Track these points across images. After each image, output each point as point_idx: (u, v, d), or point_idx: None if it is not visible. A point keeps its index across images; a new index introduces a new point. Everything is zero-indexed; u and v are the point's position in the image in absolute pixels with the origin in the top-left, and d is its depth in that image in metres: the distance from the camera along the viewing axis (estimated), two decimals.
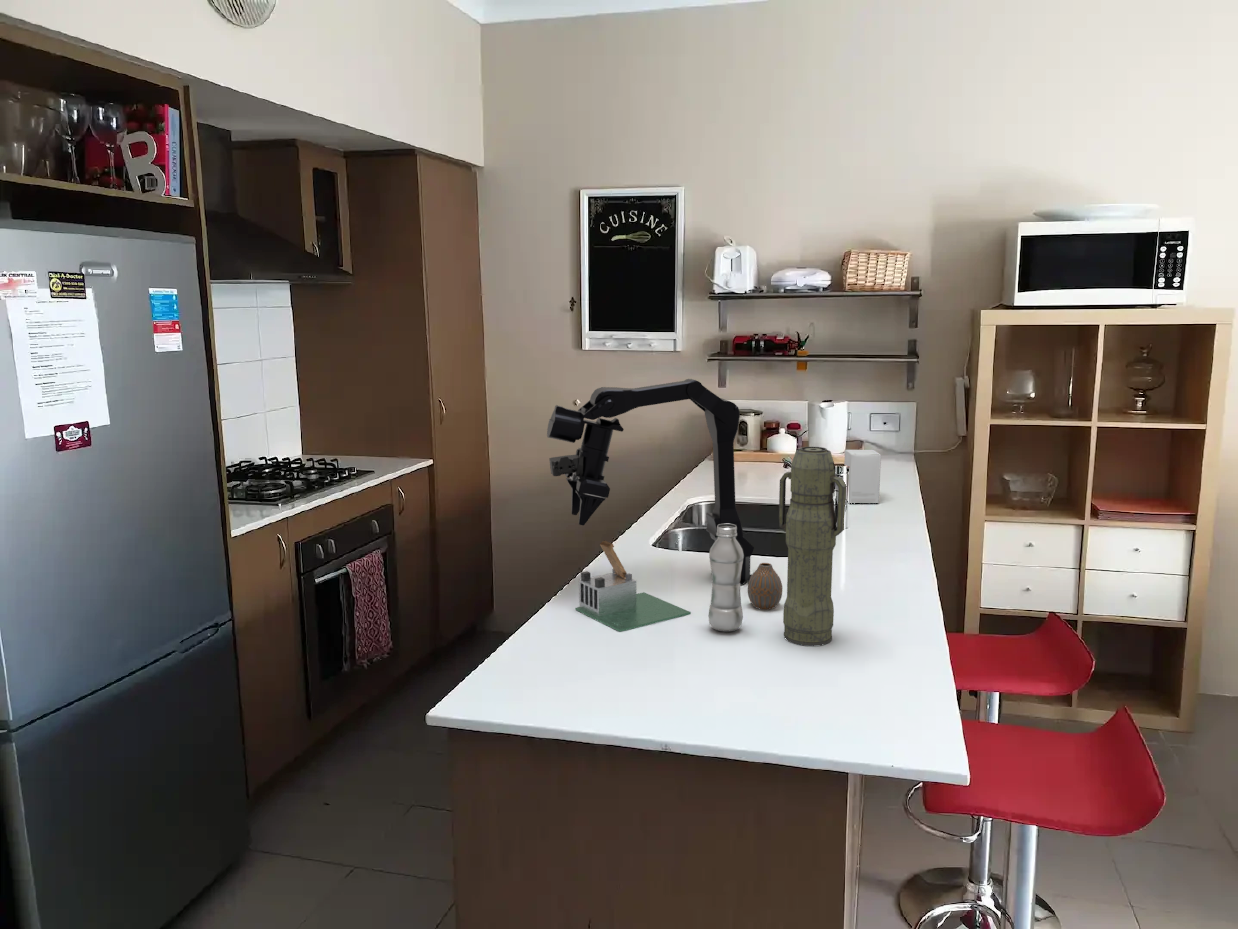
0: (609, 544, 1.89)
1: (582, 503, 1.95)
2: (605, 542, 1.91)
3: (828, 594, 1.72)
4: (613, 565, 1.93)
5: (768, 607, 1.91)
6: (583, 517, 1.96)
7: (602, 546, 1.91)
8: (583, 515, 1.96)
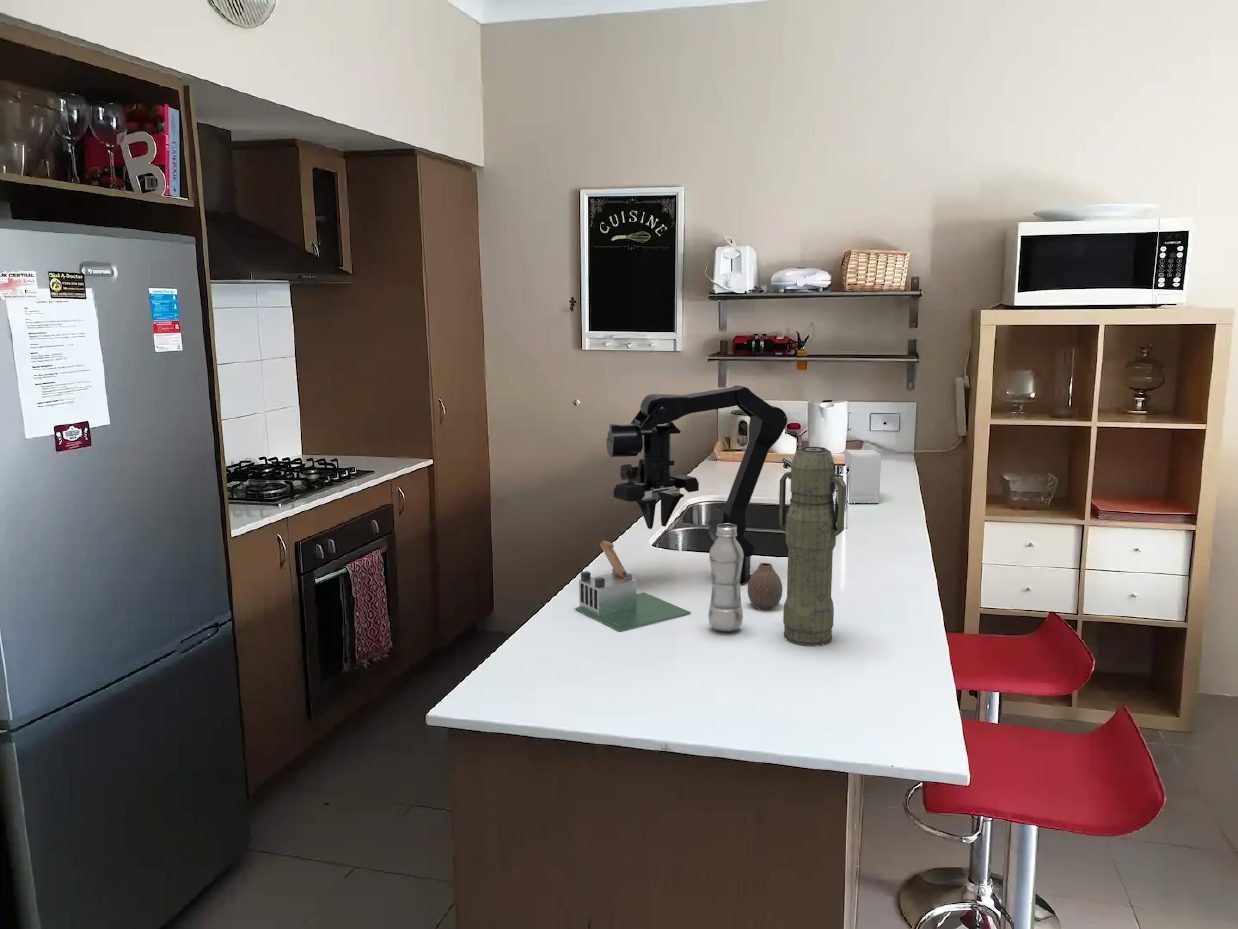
0: (609, 544, 1.89)
1: (640, 506, 2.03)
2: (605, 542, 1.91)
3: (828, 594, 1.72)
4: (613, 565, 1.93)
5: (768, 607, 1.91)
6: (647, 521, 2.03)
7: (602, 546, 1.91)
8: (646, 519, 2.03)
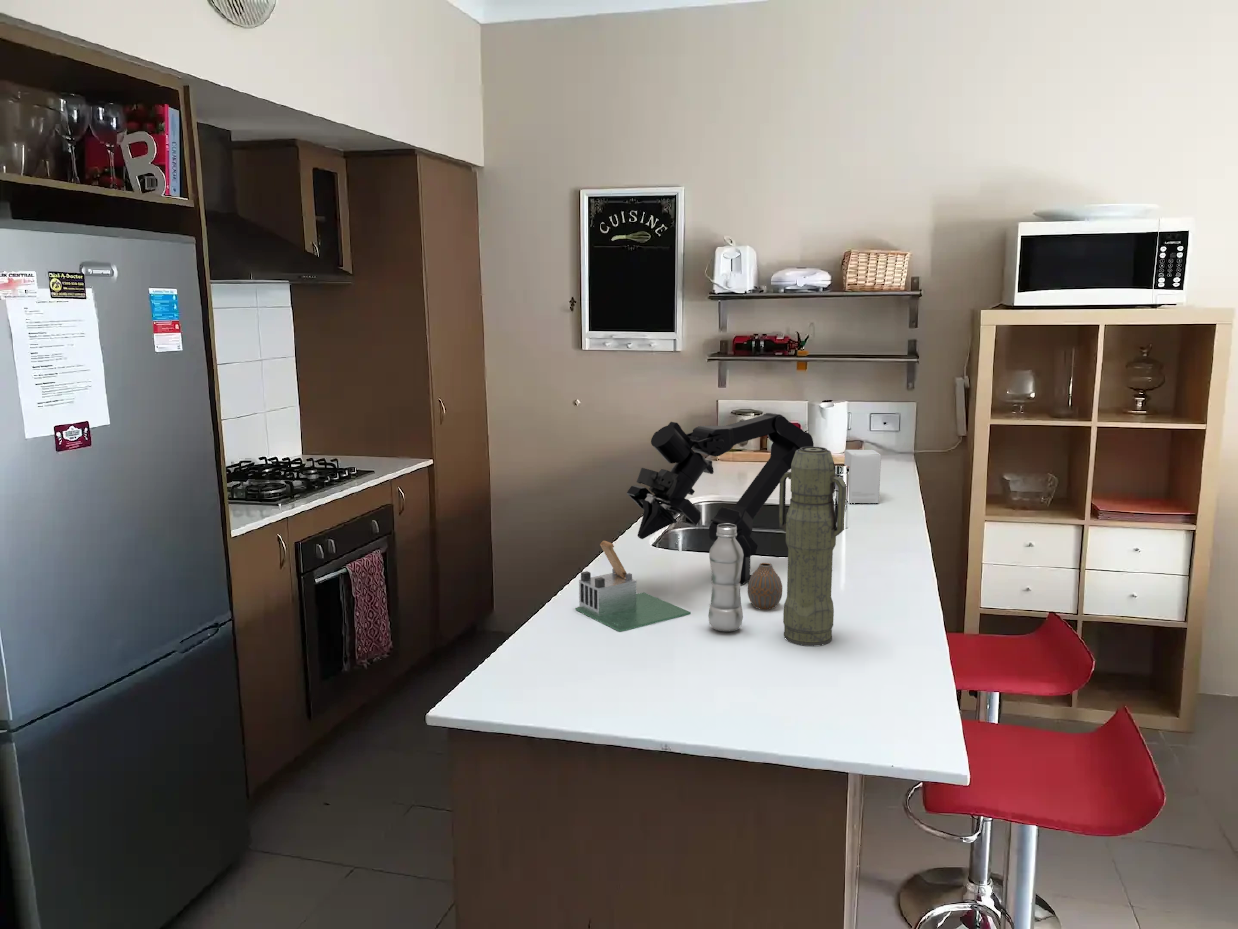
0: (609, 544, 1.89)
1: (655, 517, 1.94)
2: (605, 542, 1.91)
3: (828, 594, 1.72)
4: (613, 565, 1.93)
5: (768, 607, 1.91)
6: (647, 531, 1.95)
7: (602, 546, 1.91)
8: (648, 529, 1.94)
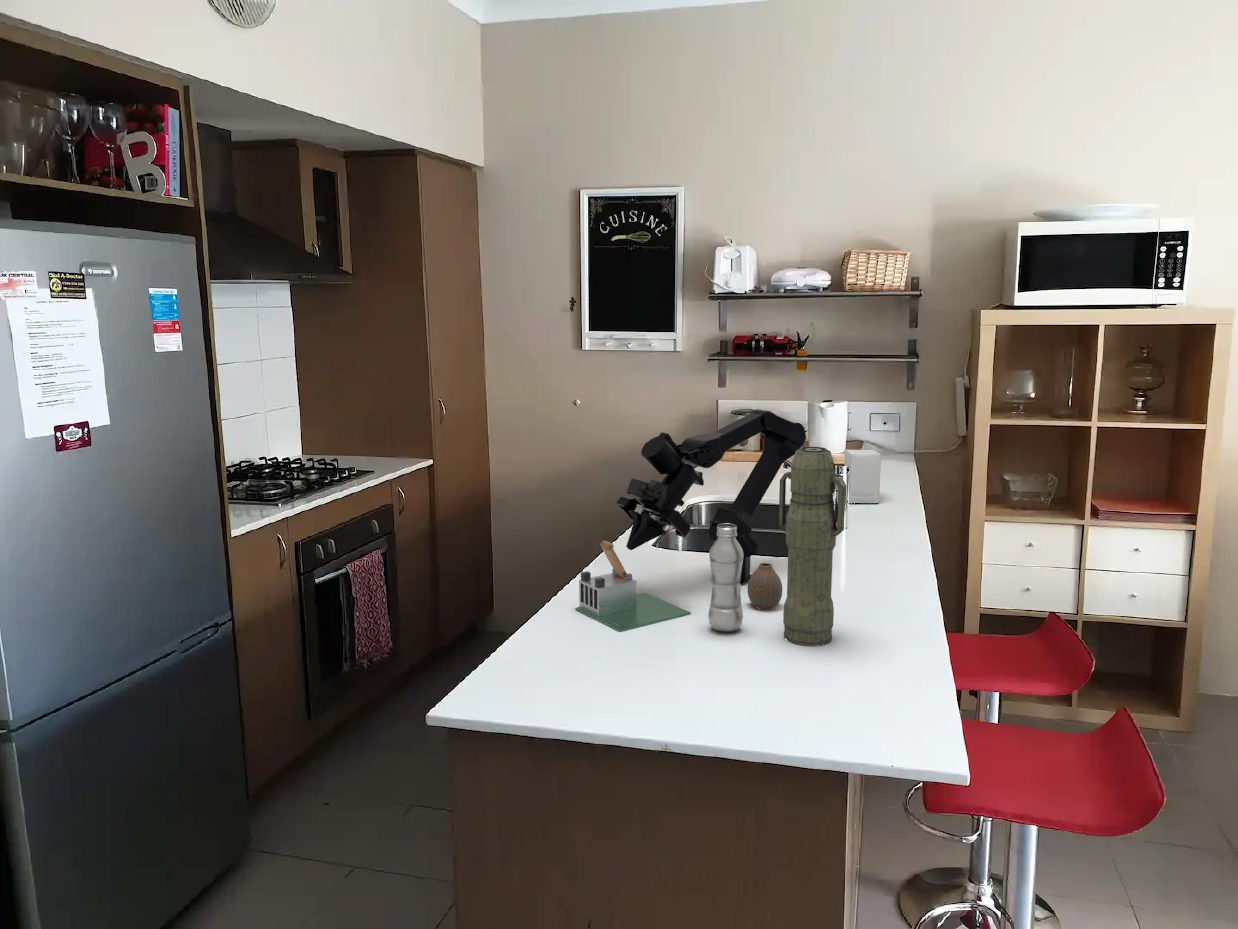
0: (609, 544, 1.89)
1: (644, 528, 1.93)
2: (605, 542, 1.91)
3: (828, 594, 1.72)
4: (613, 565, 1.93)
5: (768, 607, 1.91)
6: (636, 542, 1.93)
7: (602, 546, 1.91)
8: (637, 540, 1.93)
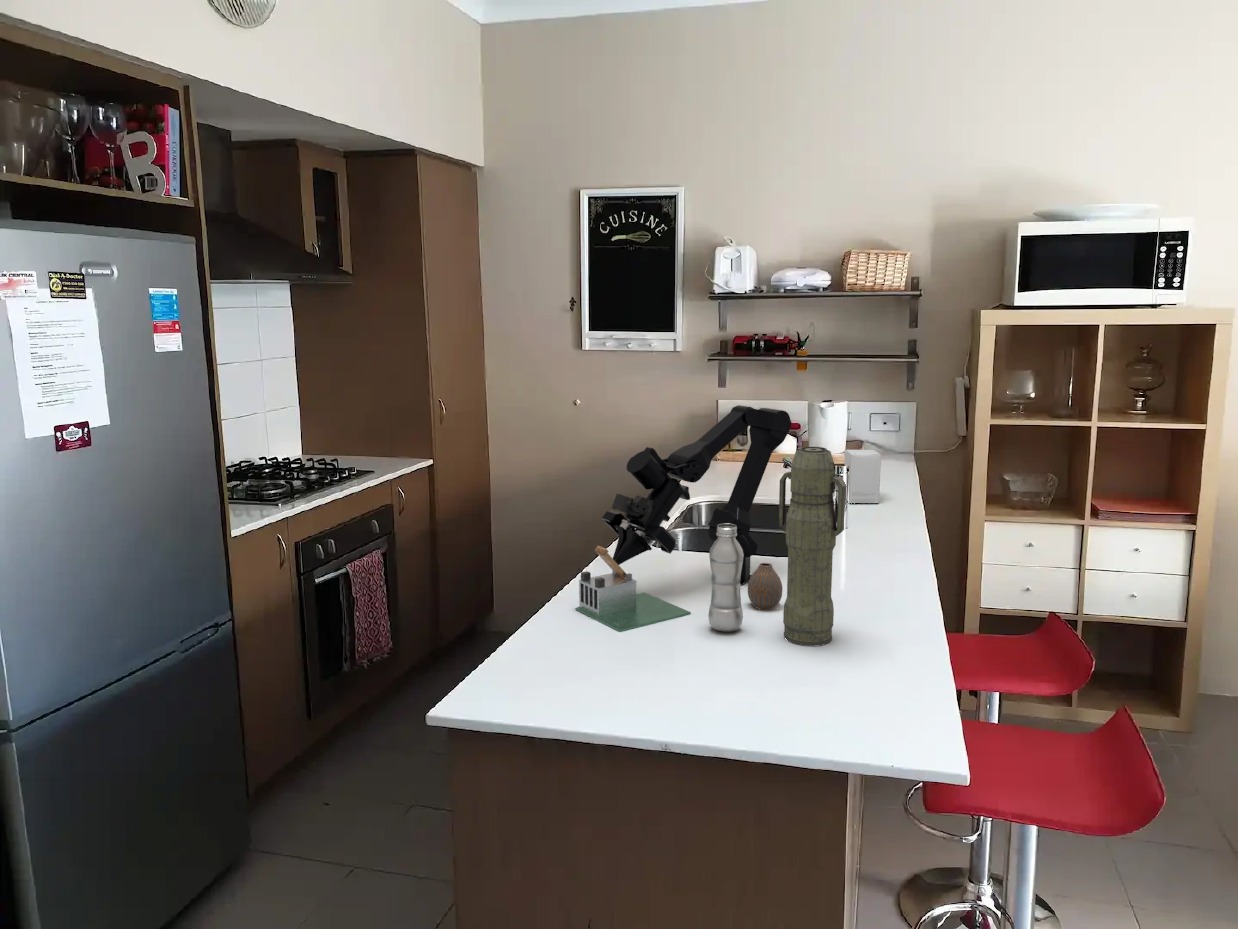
0: (603, 550, 1.89)
1: (629, 544, 1.91)
2: (599, 548, 1.90)
3: (828, 594, 1.72)
4: (611, 567, 1.92)
5: (768, 607, 1.91)
6: (621, 558, 1.92)
7: (597, 552, 1.90)
8: (622, 556, 1.92)
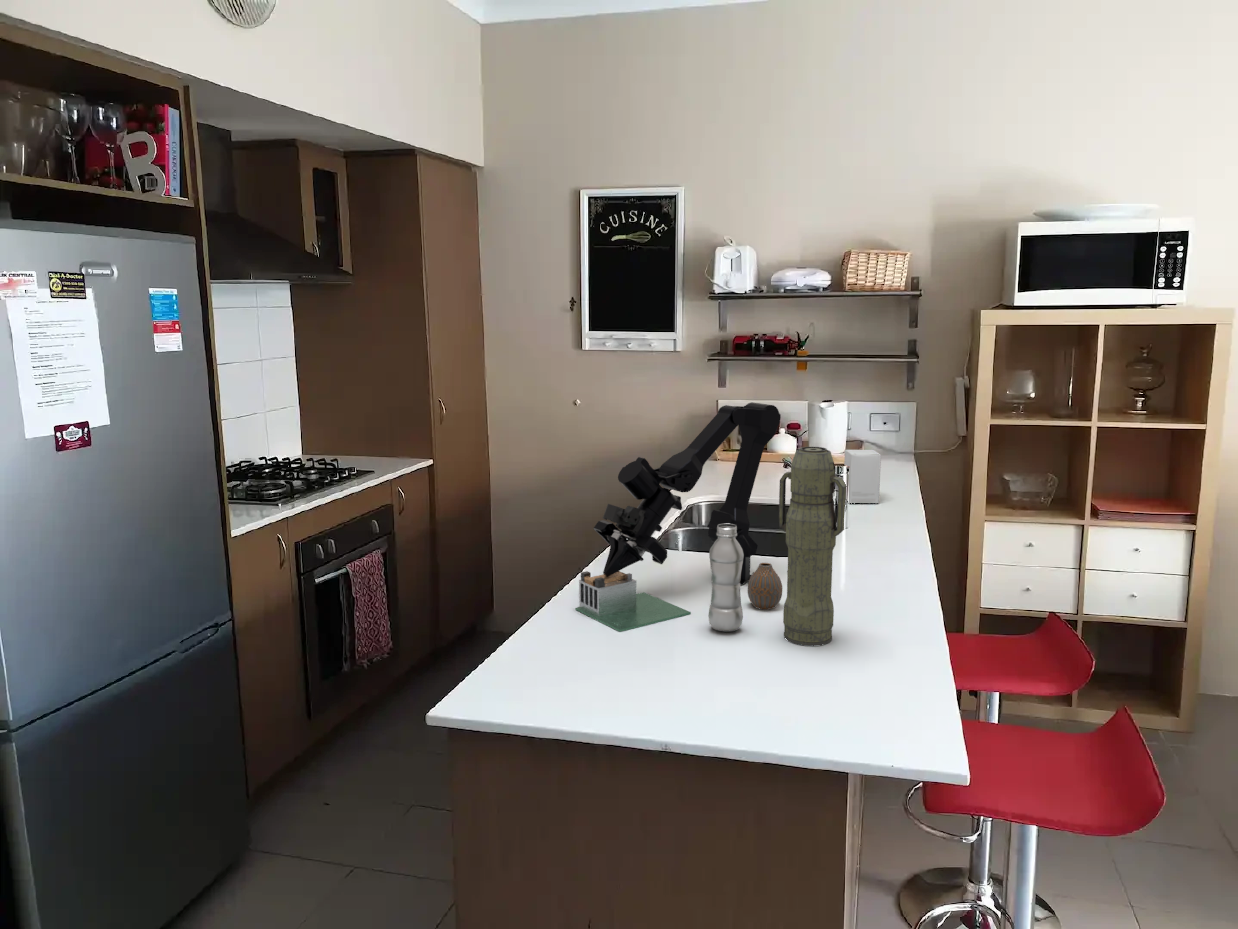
0: (591, 582, 1.88)
1: (621, 554, 1.90)
2: (587, 579, 1.89)
3: (828, 594, 1.72)
4: None
5: (768, 607, 1.91)
6: (612, 568, 1.91)
7: None
8: (614, 566, 1.91)
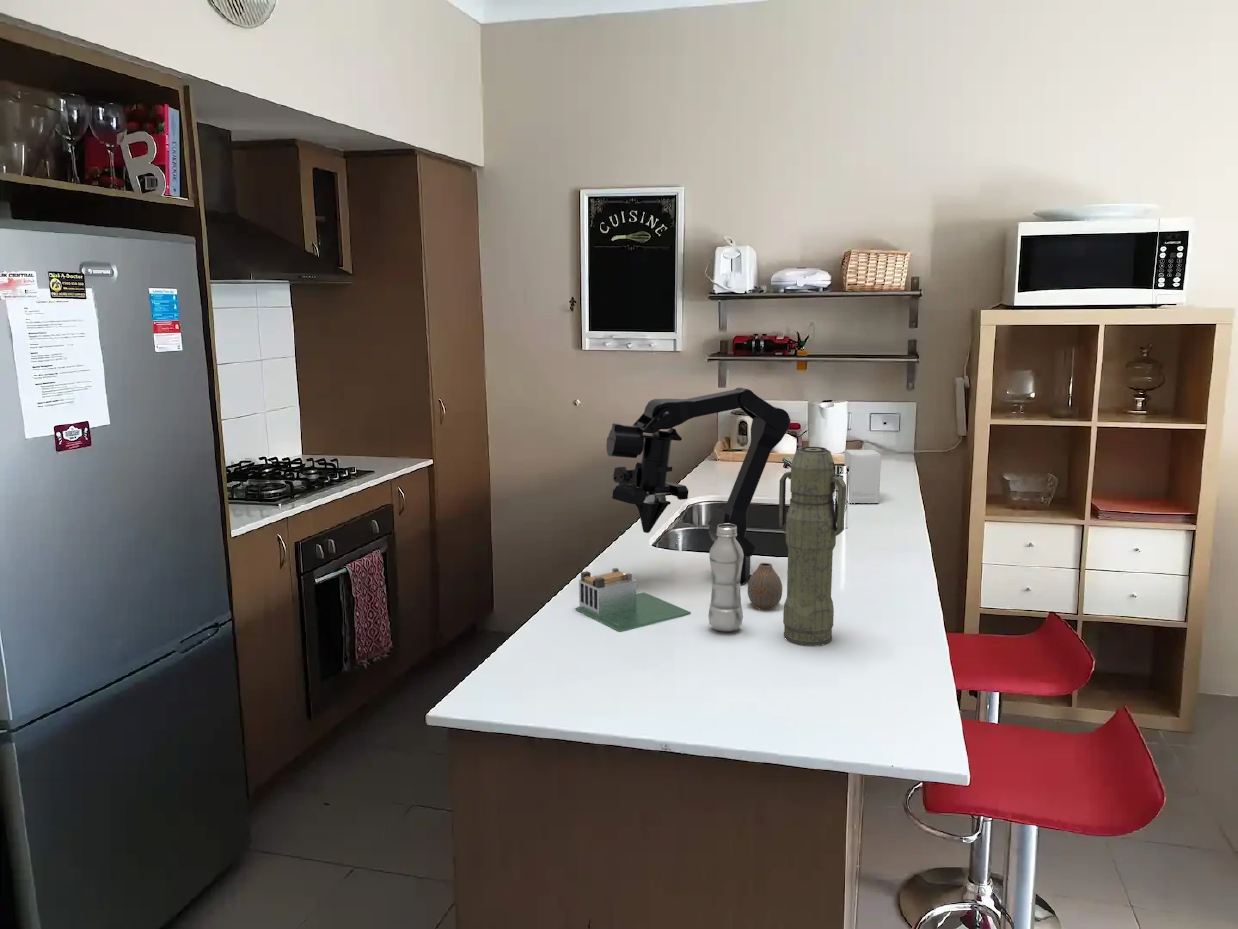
0: (591, 582, 1.88)
1: (639, 510, 2.02)
2: (587, 579, 1.89)
3: (828, 594, 1.72)
4: None
5: (768, 607, 1.91)
6: (644, 524, 2.03)
7: None
8: (643, 522, 2.03)
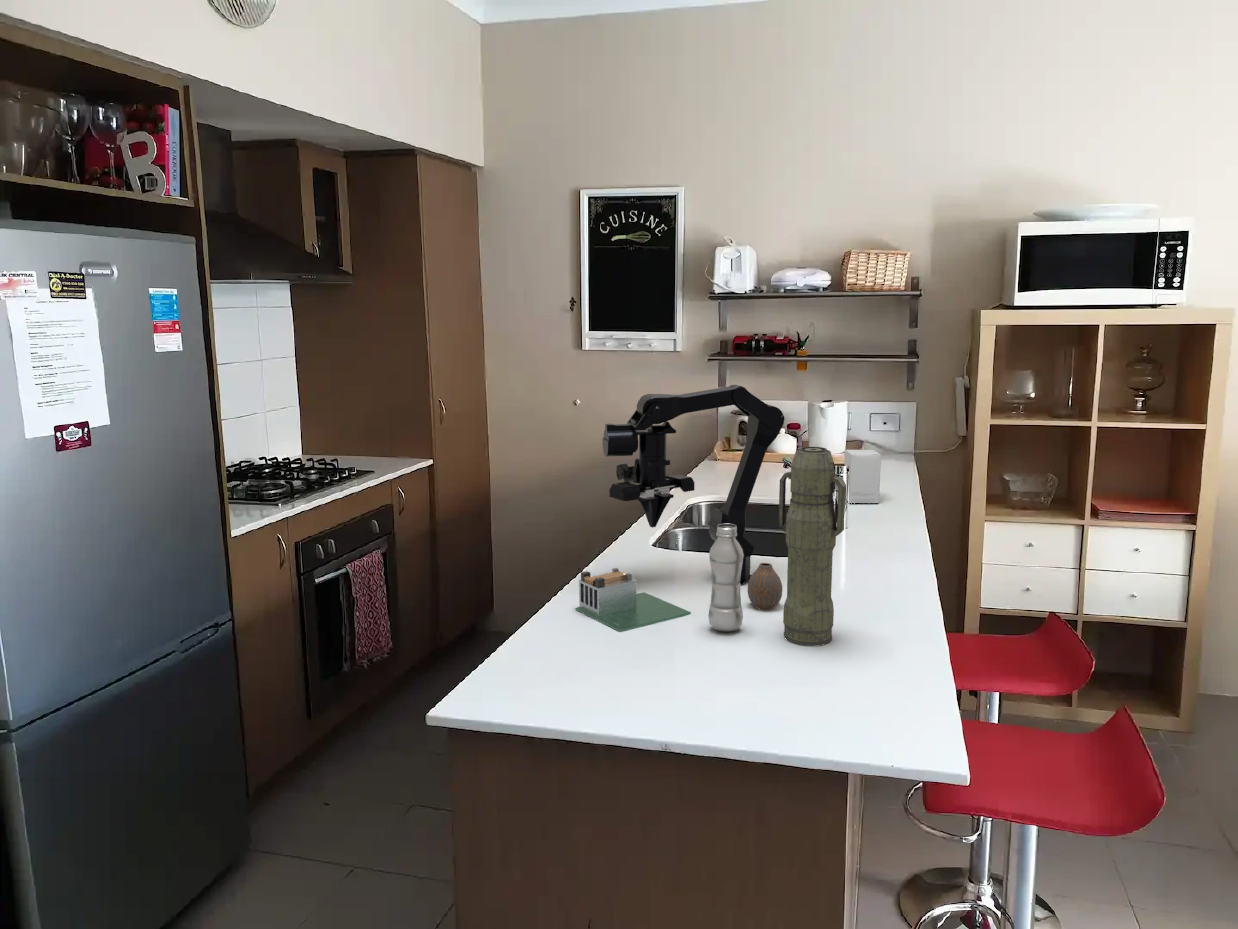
0: (591, 582, 1.88)
1: (642, 505, 2.04)
2: (587, 579, 1.89)
3: (828, 594, 1.72)
4: None
5: (768, 607, 1.91)
6: (649, 519, 2.04)
7: None
8: (648, 517, 2.04)
